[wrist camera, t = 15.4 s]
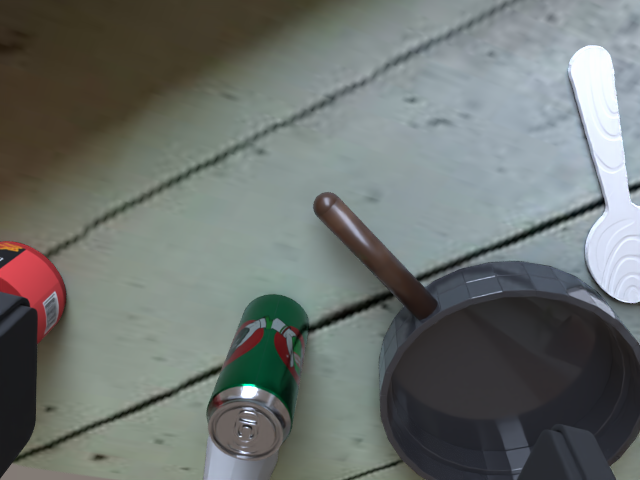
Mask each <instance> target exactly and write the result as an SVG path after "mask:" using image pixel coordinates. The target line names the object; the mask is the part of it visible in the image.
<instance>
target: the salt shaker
mask: <svg viewBox="0 0 640 480" xmlns="http://www.w3.org/2000/svg"><path fill="white" fill-rule="evenodd" d="M278 451H279V449H278V450H277V451H276V452H275V453H274V454H273V455H271V456H269V457H267V458H265V459H262V460H257V461H244V460H239V459H235V458H232V457H230V456H228V455H226V454H225V453H223V452H222V451H220V450H219V449H218V448H217V447H216V446H215V444H214V443H213V442H212V440H211V438H210V435H209V437H208V442H207V451H206V460H205V469H204V476H203V480H269V479H270V477H271V475H272V472H273V470H274V468H275V466H276V463H277V460H278Z"/></svg>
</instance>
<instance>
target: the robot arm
mask: <svg viewBox="0 0 640 480" xmlns="http://www.w3.org/2000/svg"><path fill="white" fill-rule="evenodd" d="M37 332H38V313H37V310H36V309H35V308H31V307H30V303H29V300H28V299H27V298H25V297H21V296H16V295H12V294H8V293H4V292H0V478H1V477H2V476H3V474H4V473H5V472H6V470H7V469H8V468H9V466H10V465H11V464H12V462H13V461H14V460H15V458H16V457H17V456H18V454H19V453H20V452H21V450H22V449H23V448H24V447H25V445H26V444H27V442H28V441H29V439H30V437H31V435H32V433H33V430H34V427H35V421H36V379H37ZM517 480H616V478H615V476H614V474H613V472H612V470H611V468H610V466H609V465H608V463H607V461H606V459H605V457H604V455H603V453H602V451H601V449H600V447H599V445H598V443H597V441H596V439H595V437H594V436H593V434H592V433H591V432H589V431H587V430H583V429H579V428H575V427H570V426H566V425H562V424H555V425H554V426H553V427H552V428H551V429H550V430H548V429H545V430H543V431H542V432H541V434H540V435H539V437H538V439H537V441H536V443H535V445H534V447H533V449H532V451H531V453H530V455H529V457H528V459H527V461H526V463H525V465H524V466H523V468H522V470H521V472H520V474H519V476H518V478H517Z"/></svg>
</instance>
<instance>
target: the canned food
mask: <svg viewBox="0 0 640 480" xmlns="http://www.w3.org/2000/svg"><path fill="white" fill-rule="evenodd" d="M0 292H4V293H8V294H12V295H16V296H21V297H25V298H27V299H28V300H29V303H30V307H31V308H35V309H36V310H37V313H38V332H37V344H38V343H39V342H40V341H41V340H42V339H43V338H44V337H45V336H46V335H47V334H48V333H49V331H50V330H51V329H52V328H53V327H54V326H55V325H56V324H57V323H58V321H59V319H60V318H61V316H62V313H63V310H64V307H65V303H66V291H65V285H64V283H63V280H62V277H61V276H60V274H59V272H58V271H57V269H56V268H55V266H54V265H53V264H52V263H51V262H50V261H49V260H48V259H47V258H46V257H45V256H44V255H43V254H41V253H40V252H38V251H37V250H35V249H33V248H31V247H29V246H27V245H25V244H21V243H17V242H9V241H4V242H0Z"/></svg>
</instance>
